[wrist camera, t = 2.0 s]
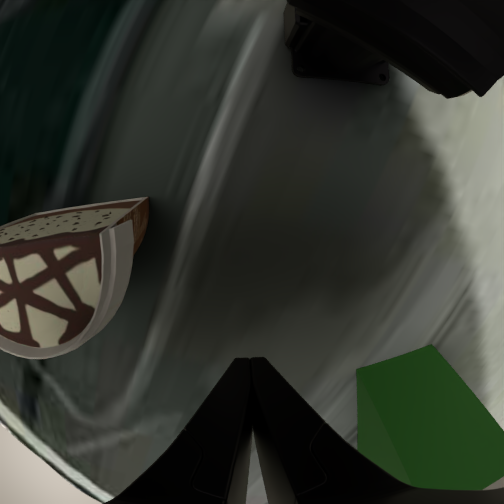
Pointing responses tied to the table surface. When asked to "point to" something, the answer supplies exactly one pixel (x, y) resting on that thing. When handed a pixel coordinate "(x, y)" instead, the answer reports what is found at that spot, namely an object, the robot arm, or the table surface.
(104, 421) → the table surface
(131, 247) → the food container
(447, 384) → the hardback book
